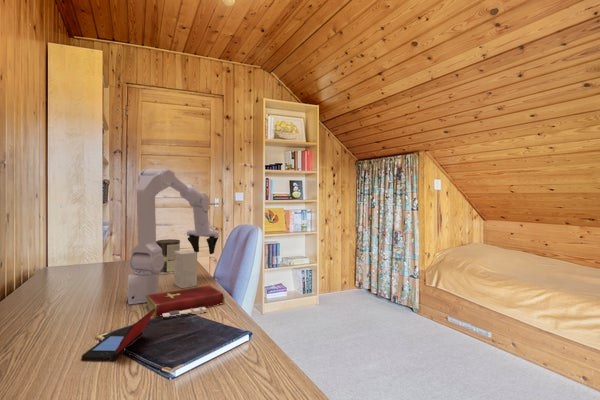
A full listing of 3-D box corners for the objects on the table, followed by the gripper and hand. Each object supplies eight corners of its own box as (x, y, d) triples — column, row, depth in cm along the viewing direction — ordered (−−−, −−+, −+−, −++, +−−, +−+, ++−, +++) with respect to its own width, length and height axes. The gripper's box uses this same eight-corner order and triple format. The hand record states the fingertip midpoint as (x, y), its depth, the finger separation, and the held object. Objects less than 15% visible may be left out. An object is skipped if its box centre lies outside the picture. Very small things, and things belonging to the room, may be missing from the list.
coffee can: (154, 274, 142) (154, 242, 142) (156, 269, 152) (157, 239, 152) (179, 273, 145) (179, 241, 145) (180, 268, 155) (180, 239, 155)
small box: (197, 286, 126) (197, 252, 126) (180, 288, 122) (181, 253, 122) (189, 281, 132) (189, 249, 132) (173, 284, 128) (173, 250, 128)
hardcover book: (224, 305, 105) (224, 292, 105) (154, 319, 93) (155, 304, 93) (210, 296, 115) (210, 284, 115) (145, 307, 102) (145, 294, 102)
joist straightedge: (163, 319, 91) (163, 315, 91) (162, 317, 93) (162, 312, 93) (206, 312, 97) (206, 308, 97) (204, 310, 99) (204, 305, 99)
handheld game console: (112, 336, 80) (113, 306, 80) (156, 337, 80) (157, 307, 80) (78, 362, 68) (78, 326, 68) (130, 363, 68) (130, 327, 68)
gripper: (221, 220, 138) (224, 251, 140) (193, 218, 143) (196, 248, 145) (212, 224, 131) (214, 256, 133) (182, 222, 136) (185, 253, 138)
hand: (204, 252), depth 139 cm, fingers open, 7 cm apart
